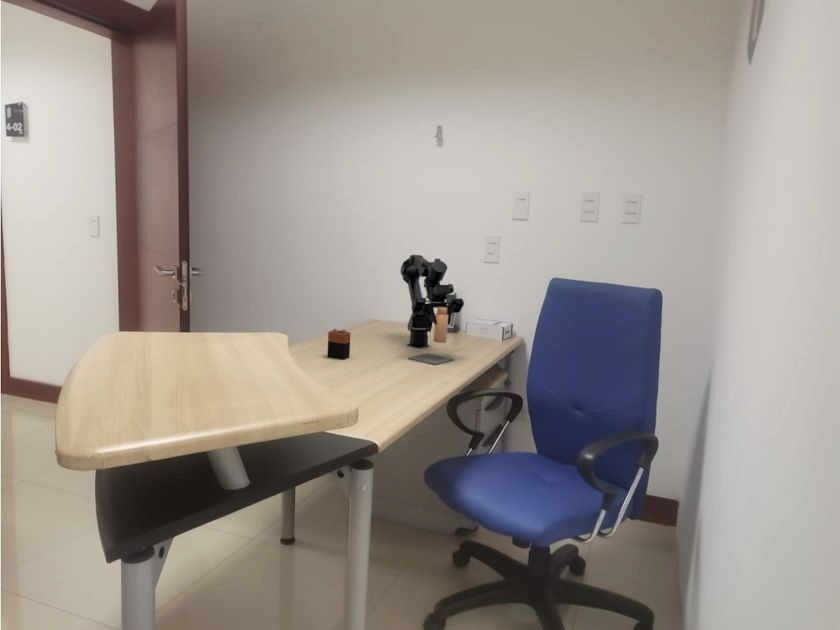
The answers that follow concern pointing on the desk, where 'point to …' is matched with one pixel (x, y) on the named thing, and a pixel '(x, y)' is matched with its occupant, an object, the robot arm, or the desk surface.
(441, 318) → the peach capped bottle
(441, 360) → the mat
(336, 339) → the battery
